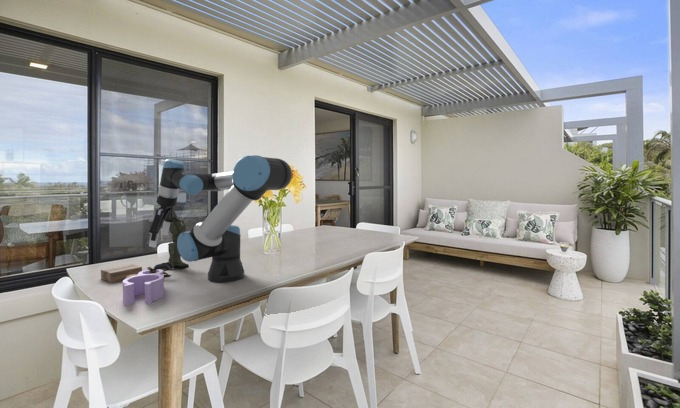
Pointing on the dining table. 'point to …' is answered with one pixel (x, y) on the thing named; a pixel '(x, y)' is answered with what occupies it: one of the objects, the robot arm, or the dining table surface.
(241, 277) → the robot arm
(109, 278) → the plinth
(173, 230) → the mechanical leg
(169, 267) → the eagle figurine
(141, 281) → the clip
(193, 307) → the dining table surface
